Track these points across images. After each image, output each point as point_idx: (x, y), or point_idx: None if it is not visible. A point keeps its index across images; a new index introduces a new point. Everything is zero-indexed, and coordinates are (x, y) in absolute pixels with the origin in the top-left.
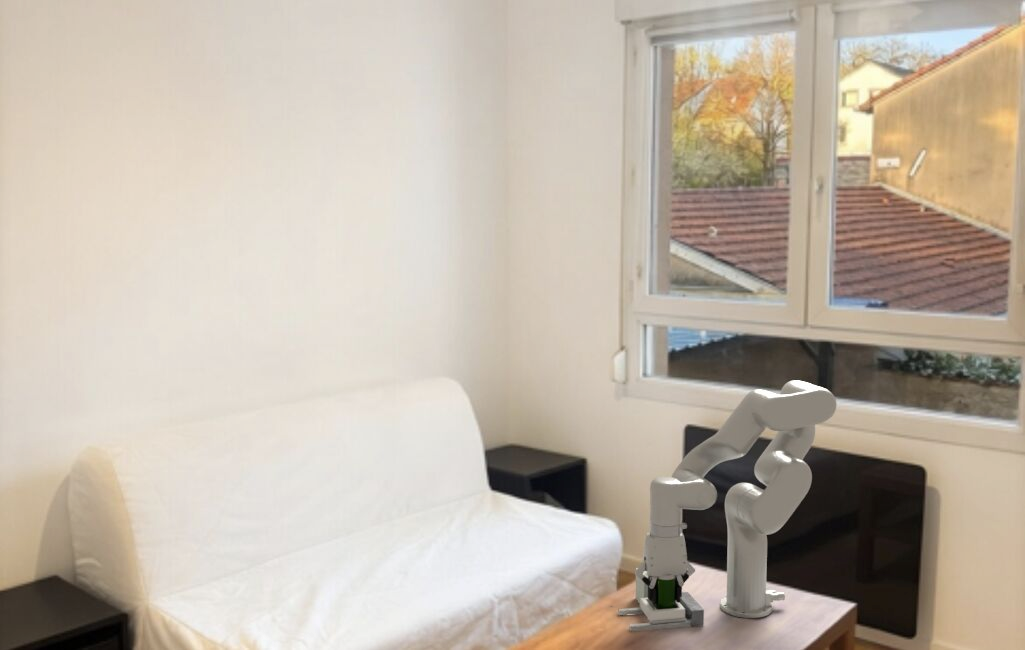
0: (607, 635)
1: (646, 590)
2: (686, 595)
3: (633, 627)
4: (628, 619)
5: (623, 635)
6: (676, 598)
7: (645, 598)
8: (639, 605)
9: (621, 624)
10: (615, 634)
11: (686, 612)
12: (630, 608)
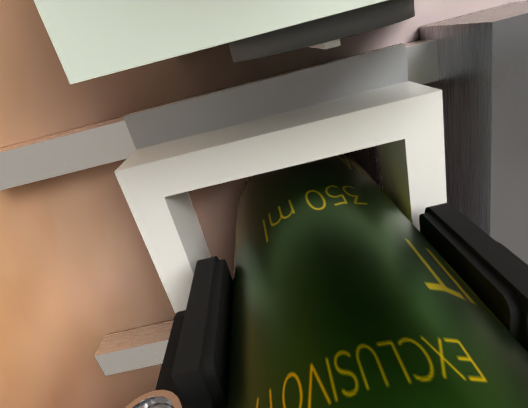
0: (6, 391)
1: (162, 60)
2: None
3: (122, 369)
4: (83, 222)
5: (84, 386)
6: None
7: (164, 179)
8: (129, 132)
9: (52, 285)
10: (43, 381)
11: None
12: (67, 138)
